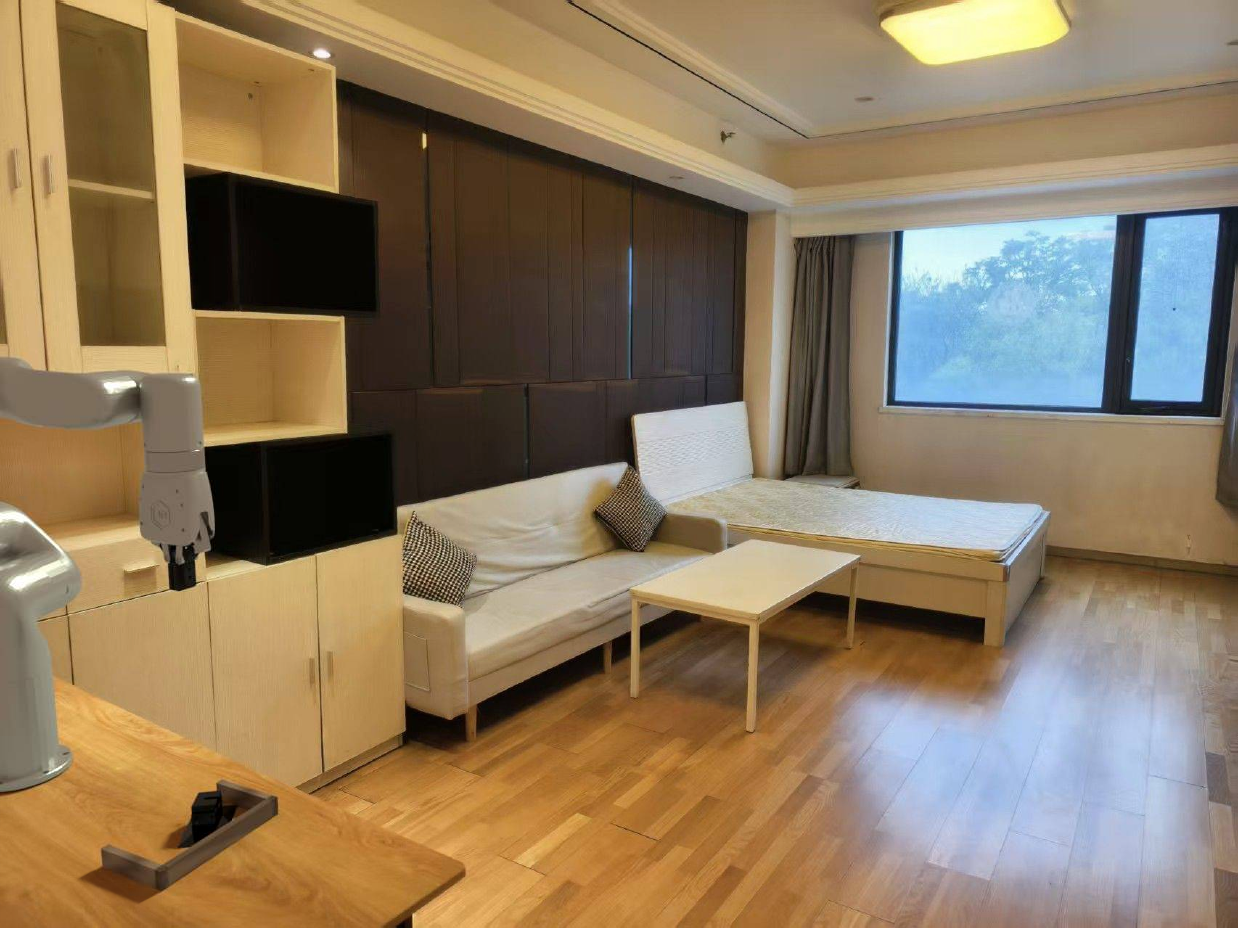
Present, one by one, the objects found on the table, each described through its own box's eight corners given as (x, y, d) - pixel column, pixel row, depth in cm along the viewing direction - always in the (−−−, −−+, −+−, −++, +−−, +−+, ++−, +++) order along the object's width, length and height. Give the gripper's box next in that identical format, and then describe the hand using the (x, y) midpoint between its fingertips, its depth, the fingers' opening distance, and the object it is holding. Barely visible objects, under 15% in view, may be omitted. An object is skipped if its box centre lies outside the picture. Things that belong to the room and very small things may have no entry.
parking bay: (102, 867, 104) (100, 848, 104) (222, 795, 121) (222, 779, 120) (161, 891, 100) (160, 871, 100) (278, 813, 116) (277, 796, 116)
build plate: (225, 855, 108) (223, 822, 107) (163, 862, 107) (161, 828, 106) (246, 801, 120) (244, 771, 119) (190, 807, 119) (188, 776, 118)
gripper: (113, 461, 118) (123, 588, 121) (190, 470, 112) (198, 603, 115) (161, 454, 124) (169, 574, 127) (236, 462, 119) (242, 588, 121)
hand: (183, 587), depth 121 cm, fingers closed
